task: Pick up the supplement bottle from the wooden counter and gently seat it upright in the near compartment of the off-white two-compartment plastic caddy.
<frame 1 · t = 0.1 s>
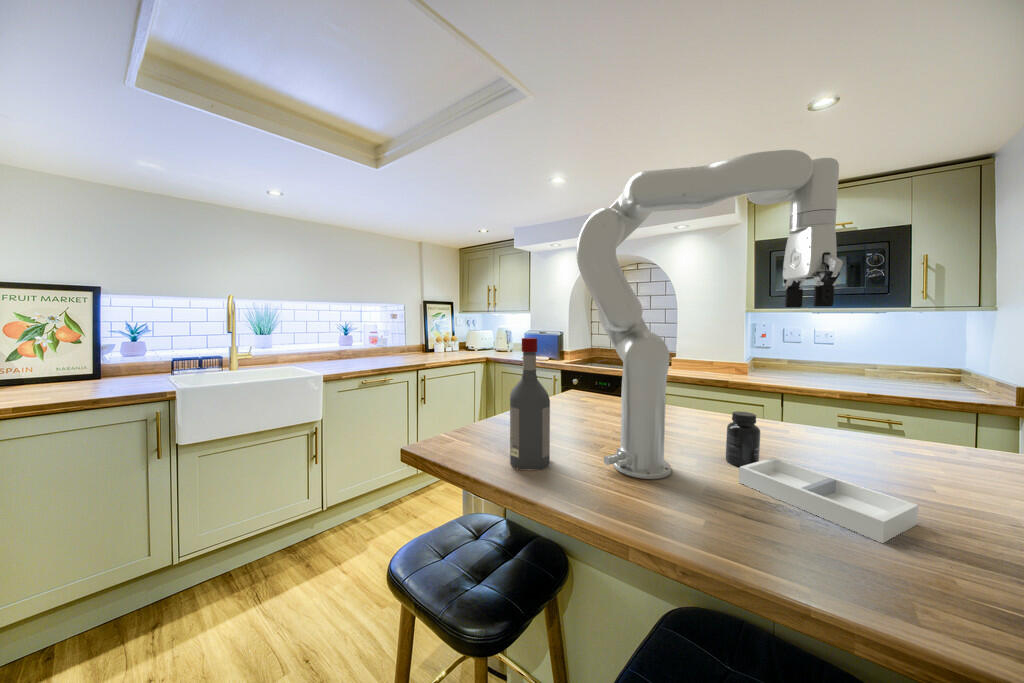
hand: (807, 306, 78), 37 cm above the counter, tool pointing down, fingers open, 9 cm apart
caddy: (817, 501, 71), on the counter
supplement bottle: (741, 463, 89), on the counter
liquor: (529, 463, 90), on the counter
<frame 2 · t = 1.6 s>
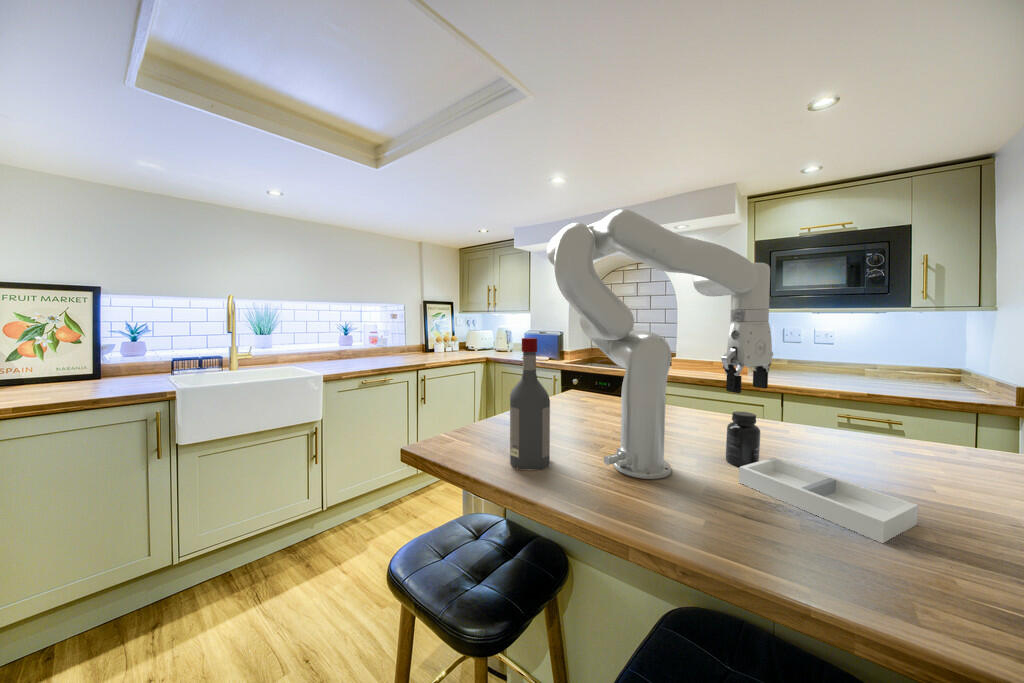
hand: (747, 389, 88), 18 cm above the counter, tool pointing down, fingers open, 9 cm apart
nothing on the counter moved.
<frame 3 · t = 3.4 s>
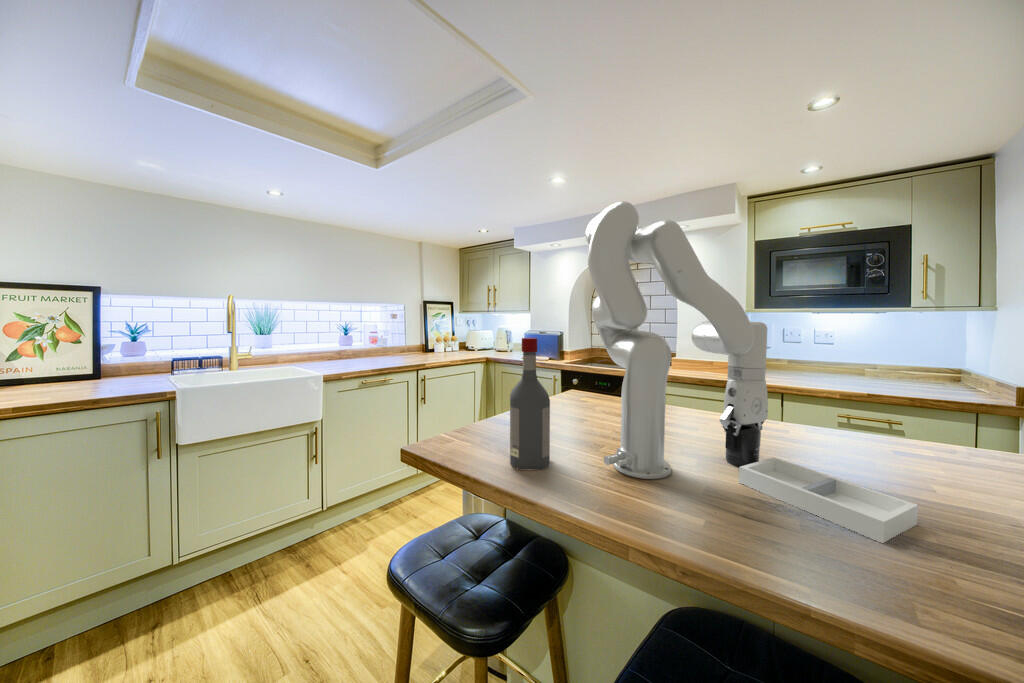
hand: (742, 447, 89), 4 cm above the counter, tool pointing down, fingers closed on supplement bottle, 6 cm apart
supplement bottle: (741, 463, 89), on the counter, touching gripper
everything else where it was.
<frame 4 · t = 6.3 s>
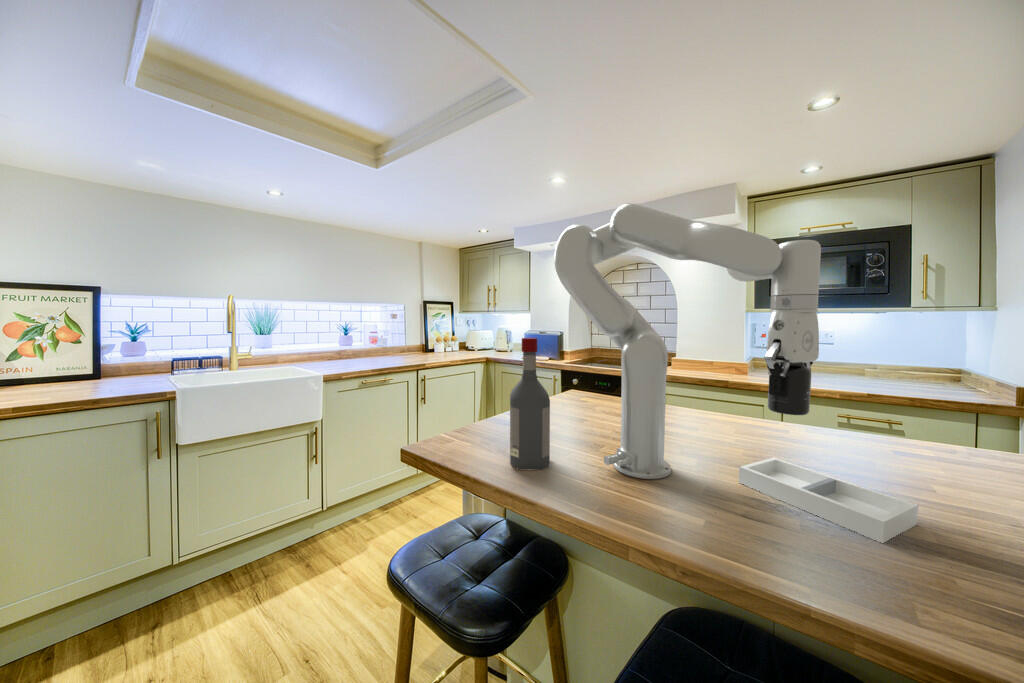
hand: (788, 393, 75), 20 cm above the counter, tool pointing down, fingers closed on supplement bottle, 6 cm apart
supplement bottle: (787, 412, 75), point 16 cm above the counter, touching gripper
everything else where it was.
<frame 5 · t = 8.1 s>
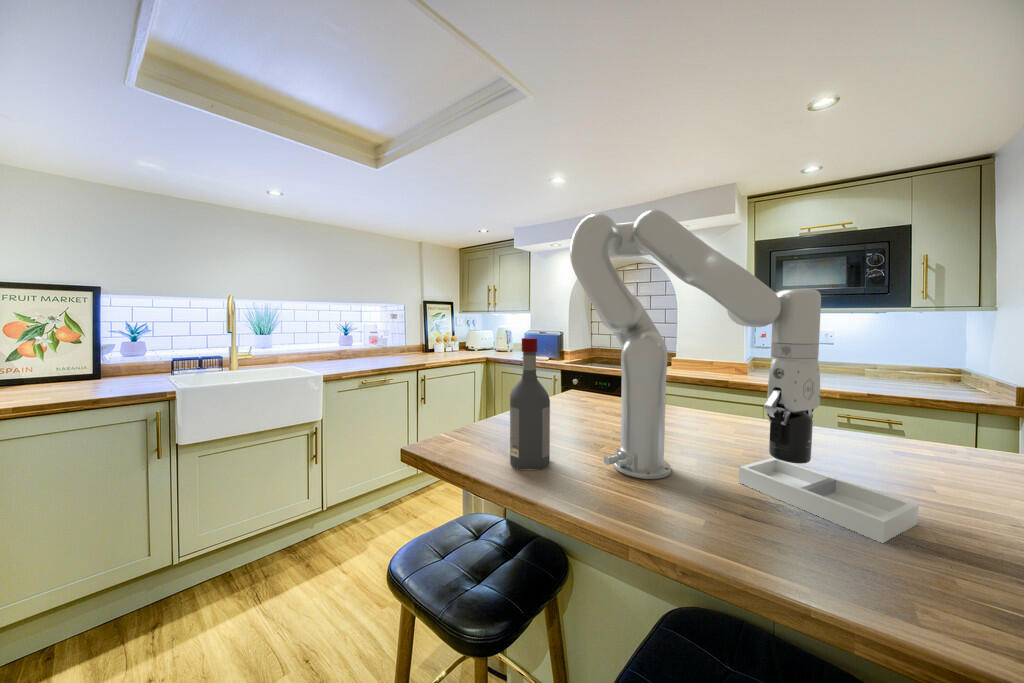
hand: (790, 439, 75), 10 cm above the counter, tool pointing down, fingers closed on supplement bottle, 6 cm apart
supplement bottle: (789, 458, 75), point 6 cm above the counter, touching gripper
everything else where it was.
when the fingers open (6 cm above the counter, at t = 9.5 s): supplement bottle drops 1 cm, resting on caddy.
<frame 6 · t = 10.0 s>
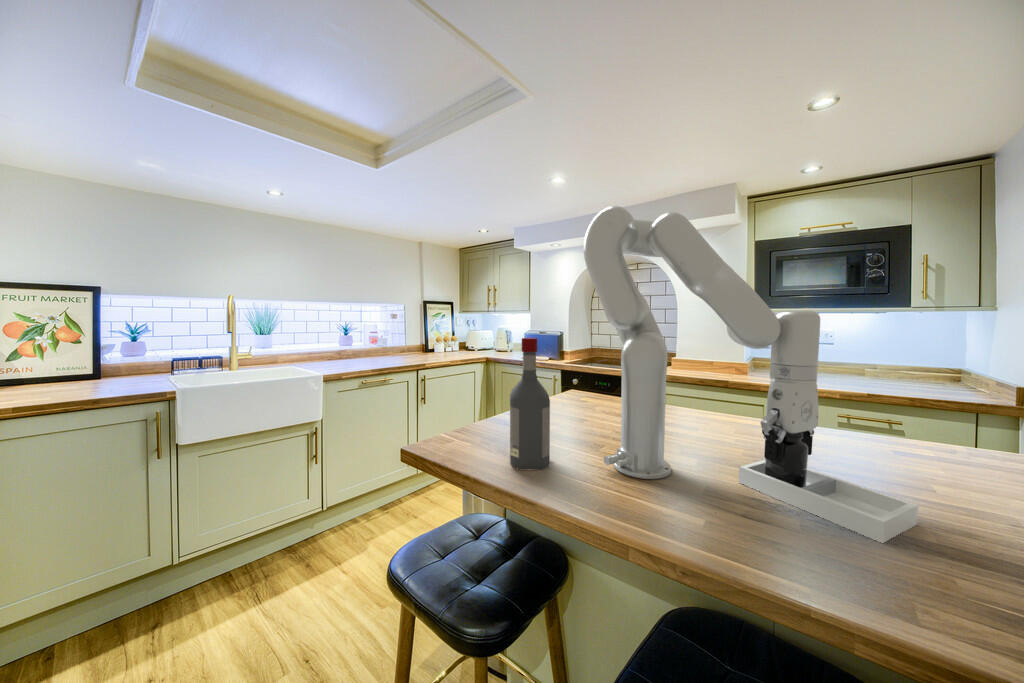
hand: (788, 456, 75), 7 cm above the counter, tool pointing down, fingers open, 9 cm apart
supplement bottle: (784, 484, 76), point 1 cm above the counter, touching caddy
everything else where it was.
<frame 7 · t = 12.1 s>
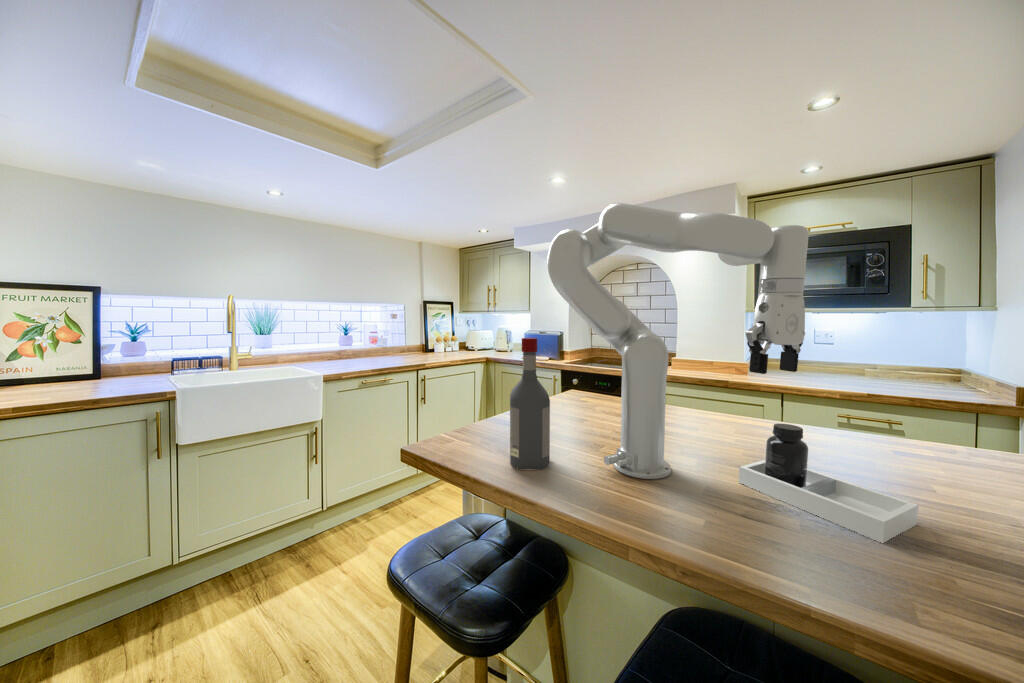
hand: (773, 371, 78), 24 cm above the counter, tool pointing down, fingers open, 9 cm apart
nothing on the counter moved.
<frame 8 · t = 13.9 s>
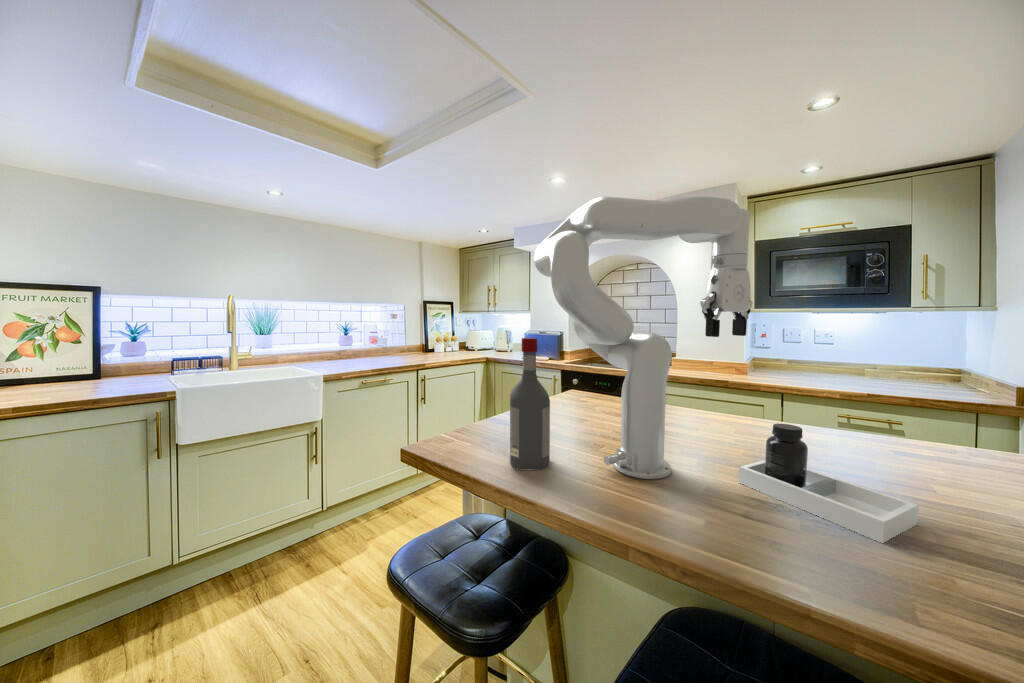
hand: (725, 336, 90), 30 cm above the counter, tool pointing down, fingers open, 9 cm apart
nothing on the counter moved.
at the end: supplement bottle 0.4 cm from the target spot on the caddy, point 0.8 cm above the caddy's base; supplement bottle tilted 0°; the gripper is holding nothing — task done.
